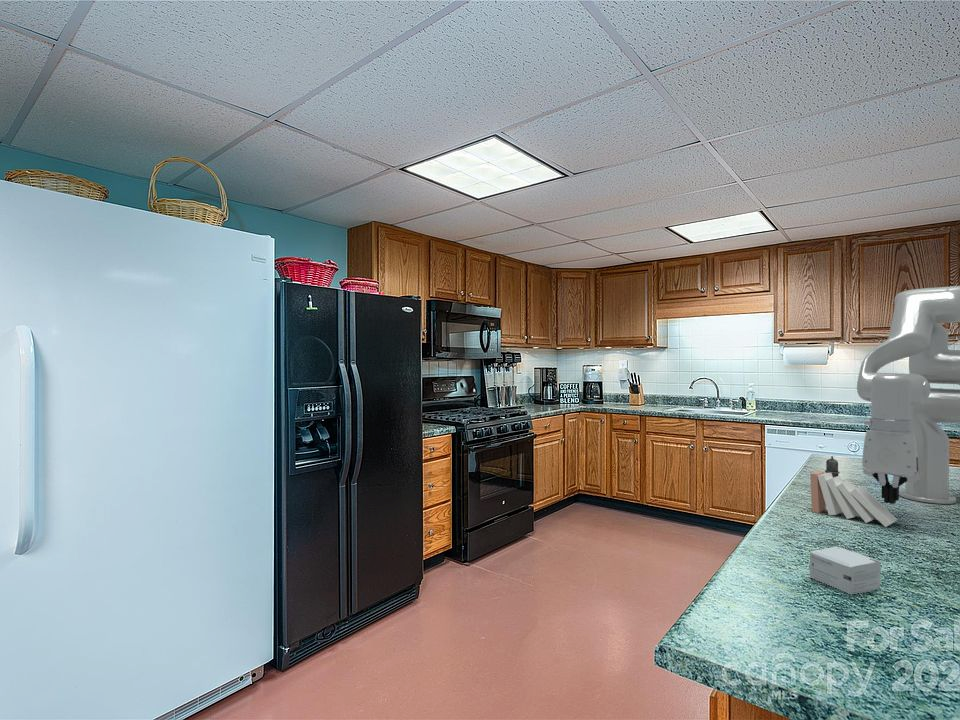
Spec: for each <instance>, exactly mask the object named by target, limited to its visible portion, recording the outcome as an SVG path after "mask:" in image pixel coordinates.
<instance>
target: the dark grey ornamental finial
mask: <svg viewBox="0 0 960 720" xmlns="http://www.w3.org/2000/svg"><path fill="white" fill-rule="evenodd" d="M838 461H839V460H837V459H835V458H834V456H833V455H832V456H830V458H828V459H827V460H826V462H825V468H826V469H825V470H824V472H825V473H832V476H833V478H834V477H837V476H839V474H840V473H841V472H840V471H839V462H838Z"/></svg>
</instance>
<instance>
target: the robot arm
mask: <svg viewBox="0 0 960 720" xmlns="http://www.w3.org/2000/svg"><path fill="white" fill-rule="evenodd" d="M893 302H894V304H893V305H894V310H893V313H892V314H893V315H892V319H891V323H890V328H889V333H888V338H887V339H886V340H884V341H883V342H881V343H879V344H878V345H876V347H874V348H873V349H872V350H871V351H870V352H869V353H868V354H867V355H866V356H865V357H864V359H863V360H862V362H861V365H860V368H859V372H858V377H857V383H856V391H857V394H858V397H859V398H860V399H861V400H863V401H866V402H870V405H871V406H870V409H871V410H870V418H868V419H864V420H863V425H864V426H865V425H866V426H869V428H870V429H866V432H865V438H864V443H863V449H862V461H861V462H862V464H861V465H862V468H863V470H862V473H863V474H864V475H867V476H869V477H873V478H874V480H876V481H877V482H878V483H879V485H880V486H881V498H882V499H883V502H884V504H888V503H889V504H890V505H894V504H895V503H897V502H898V501H899V500H900V497H902V498H905V499H907V500H911V501H917V502H921V503H929V504H938V505H940V504H941V505H949V504H950V505H951V504H956V503H957V497H955V496H954V495H951V494H950V438H949V436H948V434H947V433H946V431H945V430H944V429H942V427H941V426H940V425H939V423H941V424H942V423H944V424H945V423H946V424H954V425H955V424H956V425H960V389H959V388H957V389H955V388H943V387H942V388H936V387H934V388H933V387H931V384H938V385H940V384H941V385H959V386H960V349H949V332H948V330H947V329H946V328H945V327H944V326H943V324H947V323H948V324H949V323H950V324H951V323H952V324H953V323H960V285H951V286H941V287H925V288H915V289H909V290H904V291H901V292H899V293H897V294H896V295H895V296H894V301H893ZM905 358H906V359H907V358H908V372H909V373H903V372H900V373H898V372H879V370H880V369H882V368H883V367H885V366H886V365H888V364H891V363H894V362H896V361H899V360H902V359H905ZM889 476H892V479H891V480H892V481H891V482H890V481H889V479H890V478H889ZM902 485H904V487H905V488H902V489H900V487H901V486H902Z"/></svg>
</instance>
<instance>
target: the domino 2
mask: <svg viewBox="0 0 960 720" xmlns="http://www.w3.org/2000/svg"><path fill="white" fill-rule="evenodd" d="M826 482H827V483H828V485H829V487H830V489H831V491H832V493H833V494H834V496H835V498H836V500H837V502H838V504H839V505H840V507H841V509H842V511H843V512H842V513H843V515H844V517H845V518H846V520H847V519H852V518H856V517H857V516H860V515H859V514H858V513H857V511H856V510H855V509H854V508H853V506H852V505H851V504H850V503H849V501H848V500H847V499H846V498H845V496H844V495H843V494H842V492H841V491H840V490H839V489H838V487H837V486H838V485H839V484H841V483H844V482H843V480H842V478H841V476H840V475H838V476H837V477H834V478H831V479H828V480H826Z"/></svg>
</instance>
